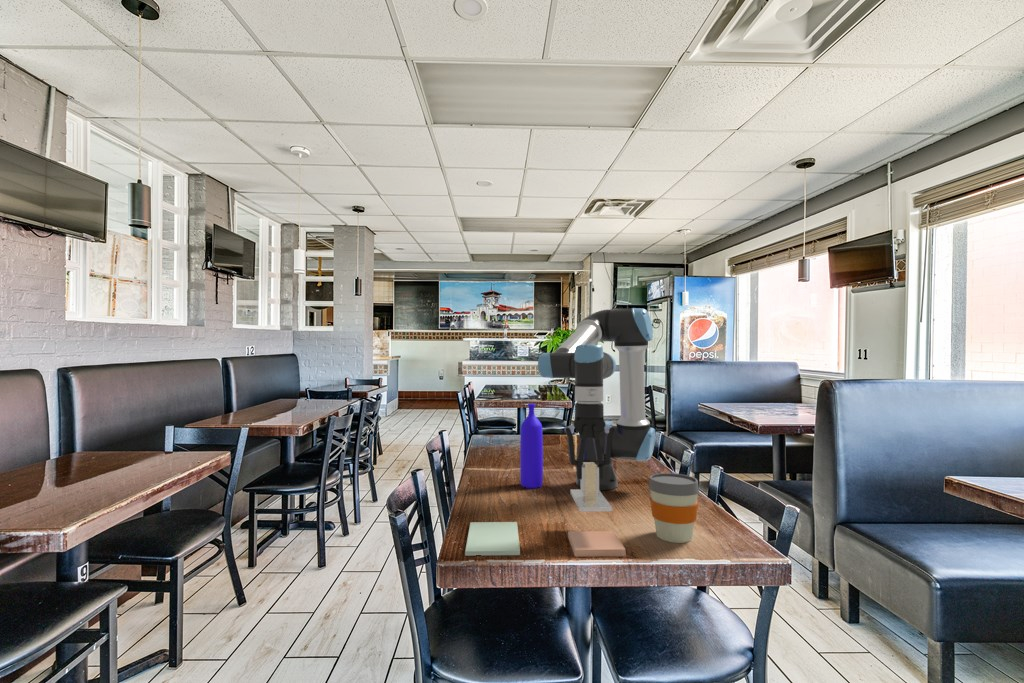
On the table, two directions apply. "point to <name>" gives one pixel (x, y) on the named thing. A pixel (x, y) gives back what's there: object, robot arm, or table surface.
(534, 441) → the bottle
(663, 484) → the reusable coffee cup
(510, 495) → the table surface
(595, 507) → the beige post on base
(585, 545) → the tile
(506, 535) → the rest mat
